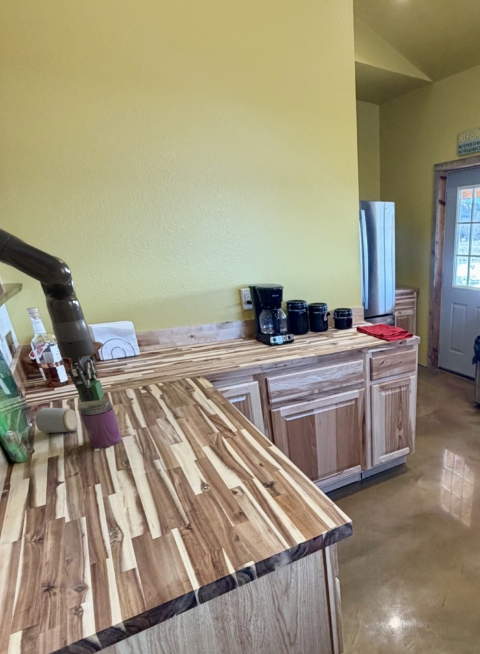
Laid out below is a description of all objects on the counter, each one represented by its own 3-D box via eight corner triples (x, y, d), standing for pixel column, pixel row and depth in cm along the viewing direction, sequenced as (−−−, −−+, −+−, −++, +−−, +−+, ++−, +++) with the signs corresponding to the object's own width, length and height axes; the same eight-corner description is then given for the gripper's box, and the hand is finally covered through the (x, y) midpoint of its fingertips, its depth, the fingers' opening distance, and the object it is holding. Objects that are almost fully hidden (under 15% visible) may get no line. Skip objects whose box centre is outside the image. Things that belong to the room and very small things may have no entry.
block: (81, 402, 114) (76, 386, 112) (86, 396, 118) (81, 381, 116) (100, 400, 115) (95, 385, 113) (104, 394, 119) (99, 379, 117)
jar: (86, 450, 117) (73, 412, 112) (94, 437, 124) (83, 402, 119) (118, 445, 120) (107, 408, 115) (124, 434, 126) (114, 399, 122)
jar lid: (76, 416, 113) (74, 409, 112) (85, 406, 120) (83, 400, 119) (108, 413, 116) (106, 406, 115) (114, 403, 122) (112, 397, 121)
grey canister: (69, 435, 125) (61, 411, 122) (39, 437, 124) (31, 413, 121) (87, 421, 135) (80, 399, 132) (60, 423, 134) (52, 400, 131)
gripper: (66, 332, 114) (84, 390, 121) (46, 344, 102) (68, 408, 109) (97, 330, 116) (114, 388, 123) (81, 342, 104) (100, 405, 111)
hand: (92, 397), depth 116 cm, fingers closed on block, 4 cm apart
